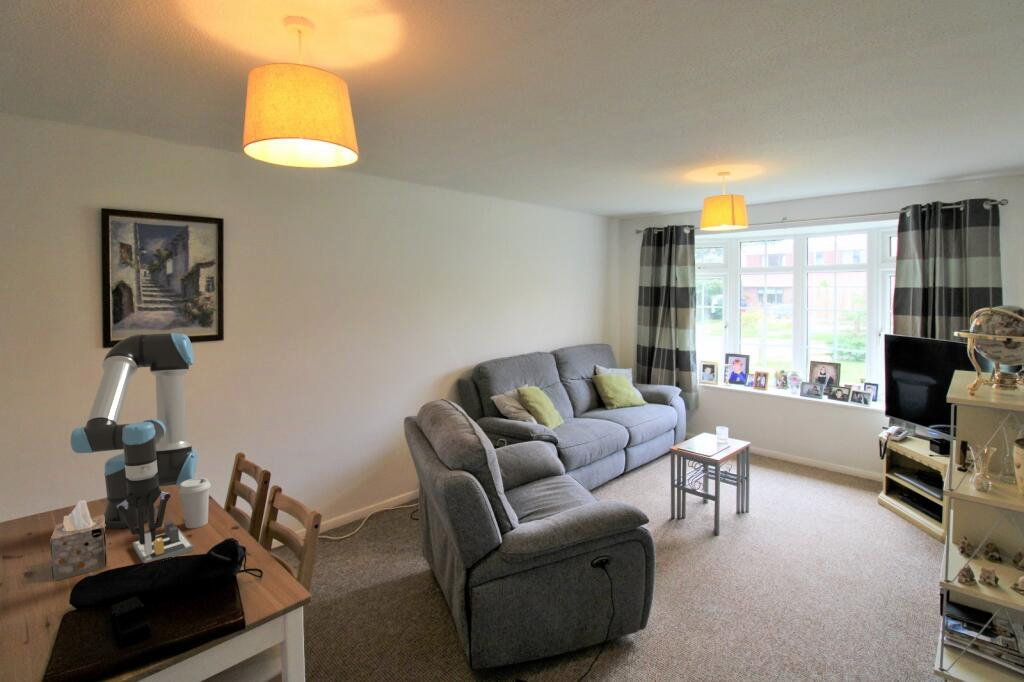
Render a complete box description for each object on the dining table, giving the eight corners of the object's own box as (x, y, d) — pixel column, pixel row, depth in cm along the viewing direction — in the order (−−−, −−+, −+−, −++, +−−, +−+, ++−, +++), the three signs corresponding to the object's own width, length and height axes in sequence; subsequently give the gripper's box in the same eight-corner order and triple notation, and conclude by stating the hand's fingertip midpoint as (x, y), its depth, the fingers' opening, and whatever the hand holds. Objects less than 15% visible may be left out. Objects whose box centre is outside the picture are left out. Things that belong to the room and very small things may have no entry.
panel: (132, 547, 160) (131, 529, 159) (179, 533, 169) (178, 516, 168) (144, 566, 149) (143, 547, 148) (193, 550, 158) (192, 532, 157)
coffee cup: (197, 532, 169) (194, 488, 168) (173, 529, 171) (170, 486, 170) (219, 519, 179) (216, 477, 177) (196, 516, 181) (193, 475, 179)
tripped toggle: (154, 552, 153) (153, 539, 152) (162, 549, 154) (161, 536, 154) (156, 555, 151) (155, 542, 151) (164, 552, 153) (163, 539, 152)
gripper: (116, 485, 141) (123, 566, 144) (171, 473, 150) (177, 549, 153) (111, 478, 146) (118, 556, 149) (165, 467, 155) (170, 540, 158)
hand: (148, 552), depth 151 cm, fingers closed
